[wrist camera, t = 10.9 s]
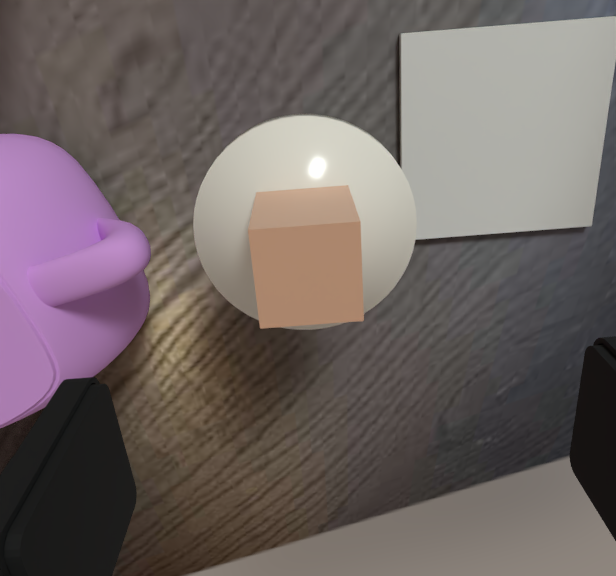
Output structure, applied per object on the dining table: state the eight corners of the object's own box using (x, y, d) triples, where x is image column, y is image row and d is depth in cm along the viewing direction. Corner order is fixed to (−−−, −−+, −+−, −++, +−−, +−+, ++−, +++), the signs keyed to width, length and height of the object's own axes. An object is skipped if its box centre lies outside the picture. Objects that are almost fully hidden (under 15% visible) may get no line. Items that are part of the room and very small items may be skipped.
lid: (413, 104, 24) (447, 128, 19) (412, 312, 28) (440, 380, 23) (180, 122, 24) (147, 151, 19) (213, 327, 29) (194, 398, 23)
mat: (616, 16, 34) (621, 15, 33) (587, 223, 39) (591, 226, 39) (399, 33, 34) (401, 33, 34) (400, 237, 40) (401, 240, 39)
